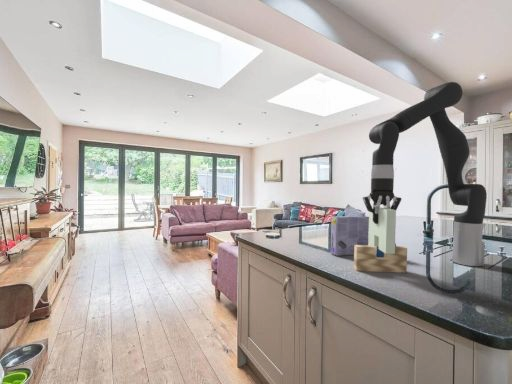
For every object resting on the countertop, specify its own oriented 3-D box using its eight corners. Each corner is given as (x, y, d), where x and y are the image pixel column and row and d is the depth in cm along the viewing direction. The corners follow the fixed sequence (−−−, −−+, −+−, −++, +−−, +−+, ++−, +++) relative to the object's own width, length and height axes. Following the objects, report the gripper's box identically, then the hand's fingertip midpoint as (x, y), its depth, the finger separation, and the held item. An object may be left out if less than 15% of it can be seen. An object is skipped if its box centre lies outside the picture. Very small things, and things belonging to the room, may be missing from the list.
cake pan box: (363, 251, 123) (364, 215, 123) (370, 253, 119) (371, 216, 118) (329, 253, 117) (330, 216, 117) (336, 256, 112) (337, 217, 112)
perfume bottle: (395, 258, 112) (396, 231, 112) (391, 260, 108) (392, 232, 107) (380, 255, 116) (381, 229, 116) (376, 257, 112) (376, 231, 111)
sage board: (375, 243, 102) (377, 206, 102) (394, 253, 86) (396, 210, 86) (368, 243, 103) (369, 206, 102) (385, 253, 87) (386, 209, 86)
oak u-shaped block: (402, 270, 96) (403, 246, 95) (406, 272, 93) (407, 248, 92) (353, 268, 97) (354, 244, 97) (356, 270, 94) (356, 246, 94)
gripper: (396, 178, 97) (395, 222, 98) (359, 177, 98) (358, 221, 99) (407, 177, 90) (405, 225, 90) (366, 177, 91) (365, 224, 91)
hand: (381, 223), depth 94 cm, fingers closed on sage board, 3 cm apart
